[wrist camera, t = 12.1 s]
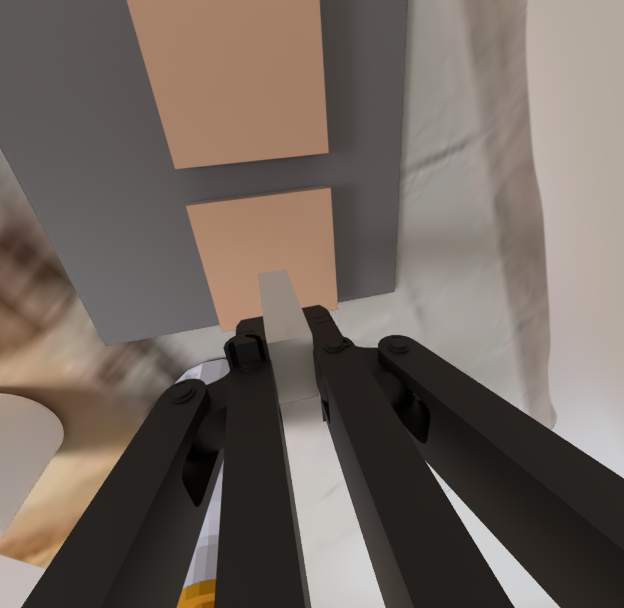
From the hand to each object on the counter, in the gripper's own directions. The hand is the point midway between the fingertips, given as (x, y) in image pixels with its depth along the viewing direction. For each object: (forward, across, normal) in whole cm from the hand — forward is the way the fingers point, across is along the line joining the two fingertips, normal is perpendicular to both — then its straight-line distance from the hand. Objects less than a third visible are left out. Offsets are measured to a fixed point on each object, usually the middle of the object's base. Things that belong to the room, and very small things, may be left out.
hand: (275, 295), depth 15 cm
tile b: (+6, -4, 0) cm, 7 cm away
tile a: (+6, -4, +11) cm, 13 cm away
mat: (+8, -1, +6) cm, 10 cm away
